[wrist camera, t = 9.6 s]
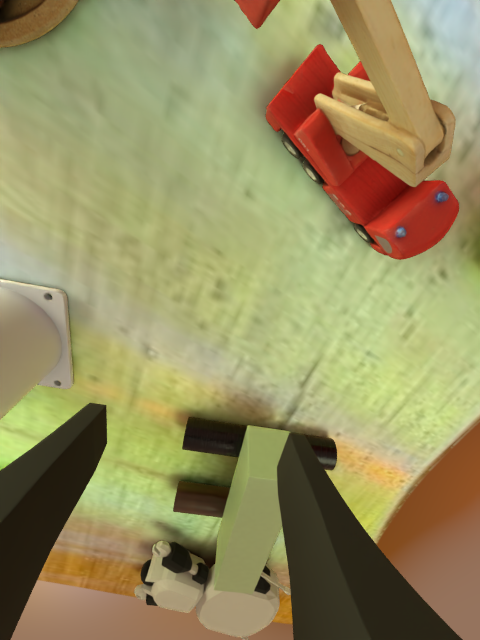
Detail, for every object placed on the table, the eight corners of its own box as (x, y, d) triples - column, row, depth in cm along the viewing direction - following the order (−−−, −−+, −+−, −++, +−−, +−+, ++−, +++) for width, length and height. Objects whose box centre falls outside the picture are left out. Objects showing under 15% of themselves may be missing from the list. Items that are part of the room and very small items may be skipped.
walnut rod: (177, 491, 27) (172, 517, 25) (180, 474, 26) (174, 500, 24) (297, 506, 28) (302, 533, 26) (304, 491, 27) (309, 518, 25)
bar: (251, 538, 26) (252, 594, 23) (217, 534, 26) (213, 590, 22) (290, 431, 20) (301, 483, 17) (247, 424, 20) (248, 476, 17)
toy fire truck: (374, 256, 17) (509, 327, 9) (208, 55, 13) (141, -195, 5) (423, 215, 16) (633, 247, 8) (258, -16, 12) (296, -520, 4)
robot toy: (140, 565, 35) (253, 599, 36) (123, 615, 31) (251, 651, 32) (163, 509, 30) (294, 549, 31) (147, 559, 26) (298, 604, 27)
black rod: (186, 431, 24) (181, 456, 22) (189, 410, 23) (184, 433, 21) (322, 451, 25) (330, 477, 23) (331, 432, 24) (340, 456, 21)
